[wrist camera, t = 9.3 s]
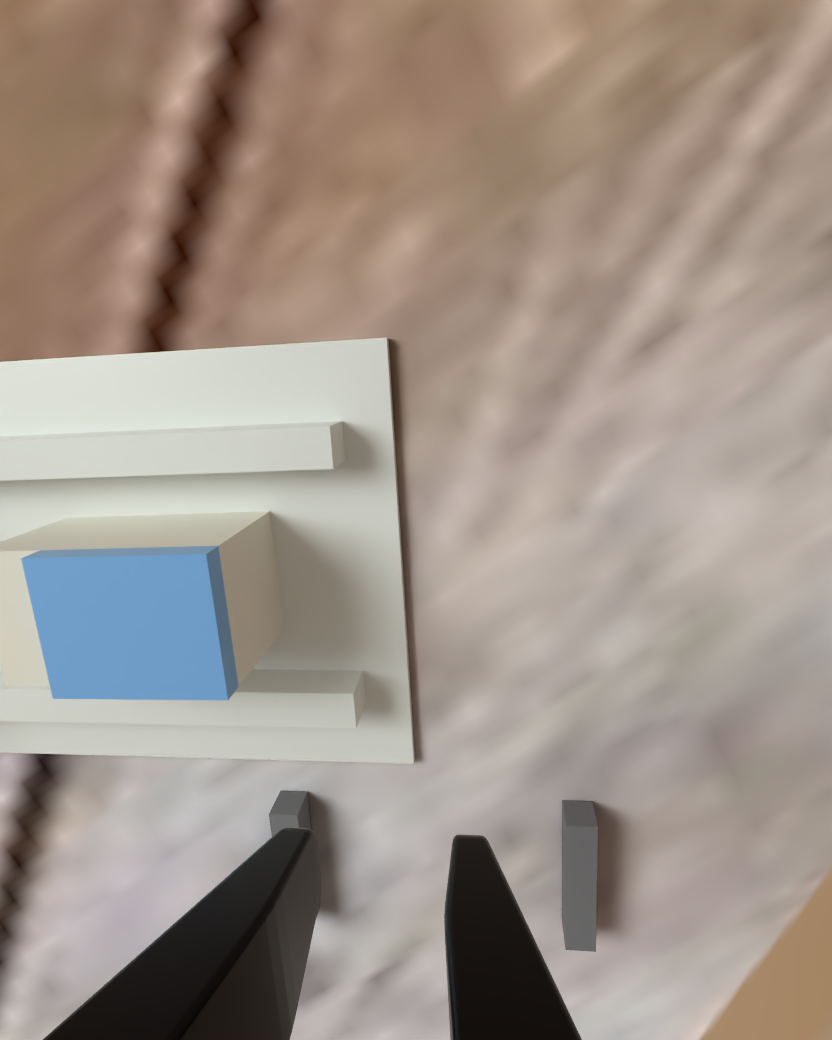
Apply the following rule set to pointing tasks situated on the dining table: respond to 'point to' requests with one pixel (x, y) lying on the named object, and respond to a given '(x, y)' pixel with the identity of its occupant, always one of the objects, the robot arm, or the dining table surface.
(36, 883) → the dining table surface
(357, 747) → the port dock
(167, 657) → the plug
